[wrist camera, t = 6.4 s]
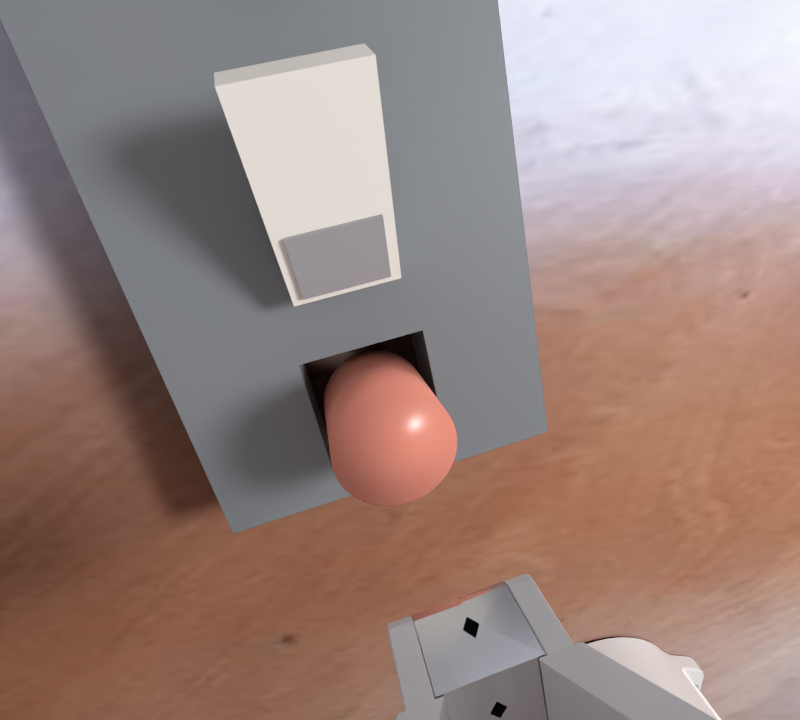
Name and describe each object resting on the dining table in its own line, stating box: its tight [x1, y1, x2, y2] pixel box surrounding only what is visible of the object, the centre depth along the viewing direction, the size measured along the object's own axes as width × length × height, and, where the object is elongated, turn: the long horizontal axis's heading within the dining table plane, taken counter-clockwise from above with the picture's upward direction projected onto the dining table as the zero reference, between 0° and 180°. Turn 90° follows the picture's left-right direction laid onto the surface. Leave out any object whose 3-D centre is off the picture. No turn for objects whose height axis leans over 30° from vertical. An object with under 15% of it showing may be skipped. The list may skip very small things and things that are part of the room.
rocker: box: [214, 43, 401, 307], centre depth 14 cm, size 7×4×1 cm, turn 13°
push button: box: [324, 351, 457, 506], centre depth 17 cm, size 4×4×4 cm
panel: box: [0, 0, 548, 533], centre depth 17 cm, size 23×15×4 cm, turn 13°
